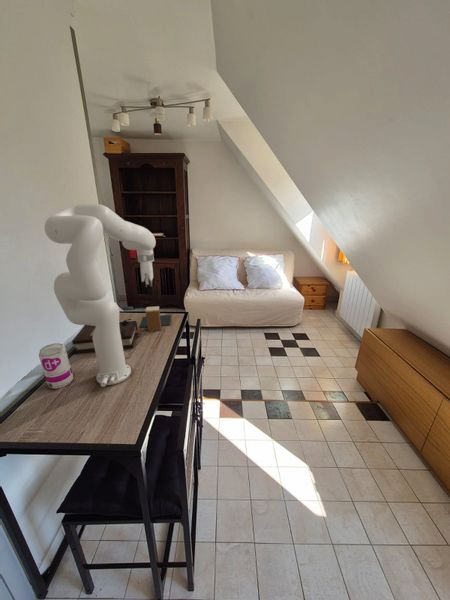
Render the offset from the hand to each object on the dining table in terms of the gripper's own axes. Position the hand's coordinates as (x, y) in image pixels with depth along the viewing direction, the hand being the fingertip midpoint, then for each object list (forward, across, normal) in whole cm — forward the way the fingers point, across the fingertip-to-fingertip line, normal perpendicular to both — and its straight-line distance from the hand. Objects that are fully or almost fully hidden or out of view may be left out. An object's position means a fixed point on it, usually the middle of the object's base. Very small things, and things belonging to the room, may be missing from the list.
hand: (150, 293), depth 129 cm
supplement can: (+21, +39, -31) cm, 54 cm away
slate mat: (+21, -11, 0) cm, 24 cm away
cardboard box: (+21, -1, 0) cm, 21 cm away
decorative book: (+21, +10, -21) cm, 31 cm away
